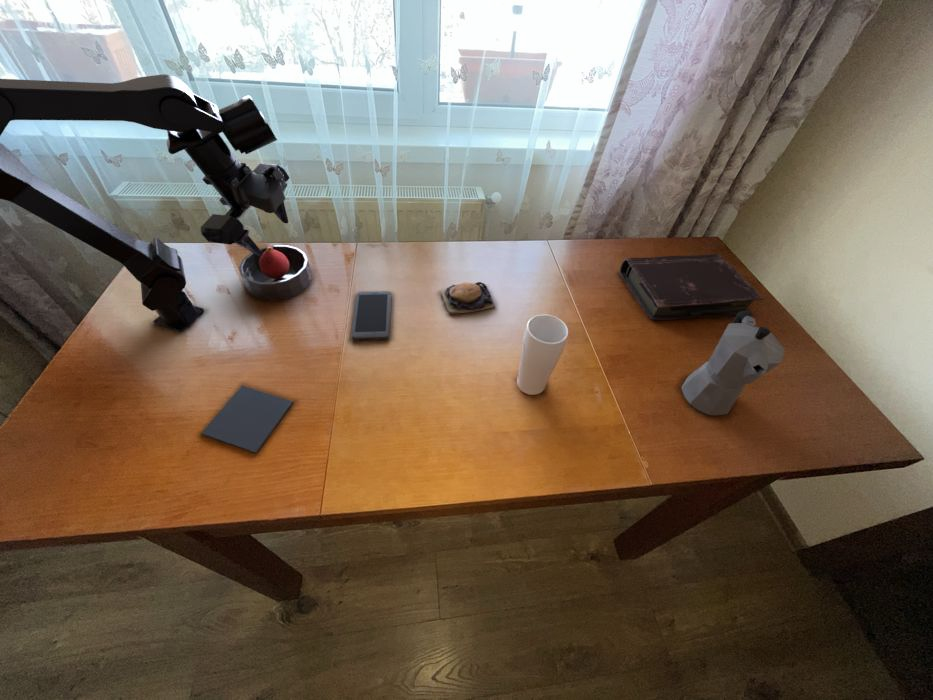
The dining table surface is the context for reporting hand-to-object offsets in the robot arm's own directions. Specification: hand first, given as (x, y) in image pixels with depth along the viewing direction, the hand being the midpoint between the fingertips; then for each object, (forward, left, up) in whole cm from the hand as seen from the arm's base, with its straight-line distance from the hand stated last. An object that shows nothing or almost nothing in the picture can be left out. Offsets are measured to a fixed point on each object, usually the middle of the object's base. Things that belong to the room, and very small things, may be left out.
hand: (273, 238), depth 78 cm
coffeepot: (+87, +2, -13) cm, 88 cm away
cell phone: (+20, -2, -12) cm, 24 cm away
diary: (+84, +31, -13) cm, 91 cm away
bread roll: (+37, +10, -13) cm, 41 cm away
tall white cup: (+55, -8, -13) cm, 57 cm away
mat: (+12, -31, -12) cm, 35 cm away
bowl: (-4, +1, -12) cm, 13 cm away
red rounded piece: (-4, +1, -12) cm, 13 cm away
